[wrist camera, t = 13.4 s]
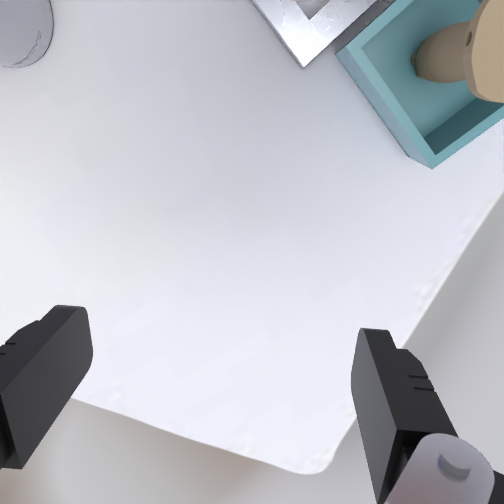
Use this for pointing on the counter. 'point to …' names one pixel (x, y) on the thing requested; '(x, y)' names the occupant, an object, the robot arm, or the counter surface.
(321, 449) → the counter surface
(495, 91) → the handle
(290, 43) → the socket block
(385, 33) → the bin
